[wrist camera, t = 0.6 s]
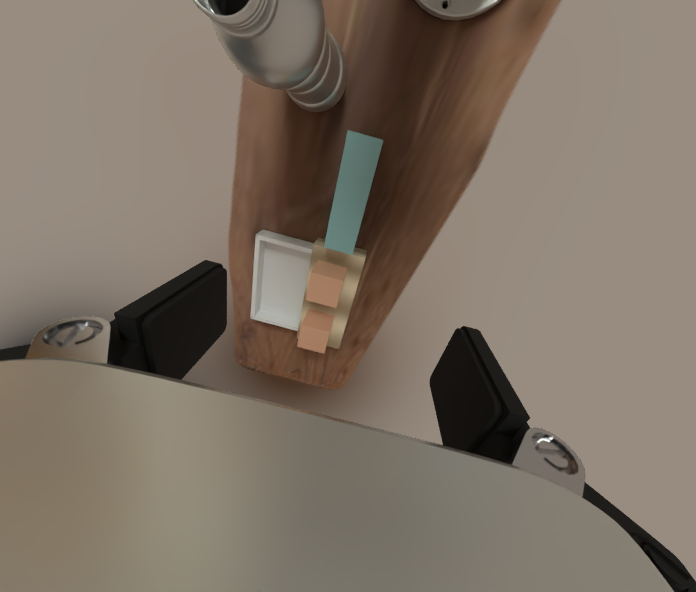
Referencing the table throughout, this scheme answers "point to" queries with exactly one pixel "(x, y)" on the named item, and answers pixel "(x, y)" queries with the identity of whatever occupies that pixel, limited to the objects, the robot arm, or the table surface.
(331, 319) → the peach cube
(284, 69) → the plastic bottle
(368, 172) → the bar
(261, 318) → the tray
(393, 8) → the table surface
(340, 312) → the beige gold flat block
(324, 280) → the tan cube
